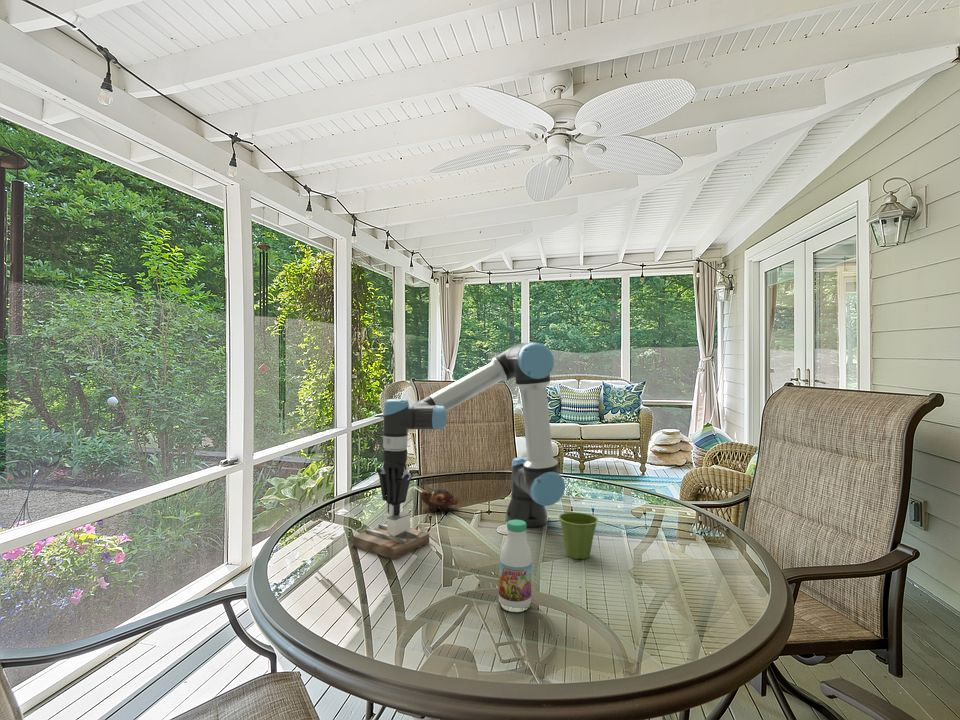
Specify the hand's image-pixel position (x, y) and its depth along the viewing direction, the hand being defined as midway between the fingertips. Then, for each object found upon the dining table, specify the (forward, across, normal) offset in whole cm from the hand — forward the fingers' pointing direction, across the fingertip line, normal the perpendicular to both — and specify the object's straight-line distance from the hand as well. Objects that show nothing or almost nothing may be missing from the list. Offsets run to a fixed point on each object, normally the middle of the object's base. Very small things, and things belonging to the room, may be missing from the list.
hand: (393, 524), depth 153 cm
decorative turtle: (+7, -10, +37) cm, 39 cm away
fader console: (+6, 0, 0) cm, 6 cm away
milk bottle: (+7, +49, -11) cm, 51 cm away
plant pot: (+7, +50, +27) cm, 57 cm away
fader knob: (+3, +2, 0) cm, 4 cm away
